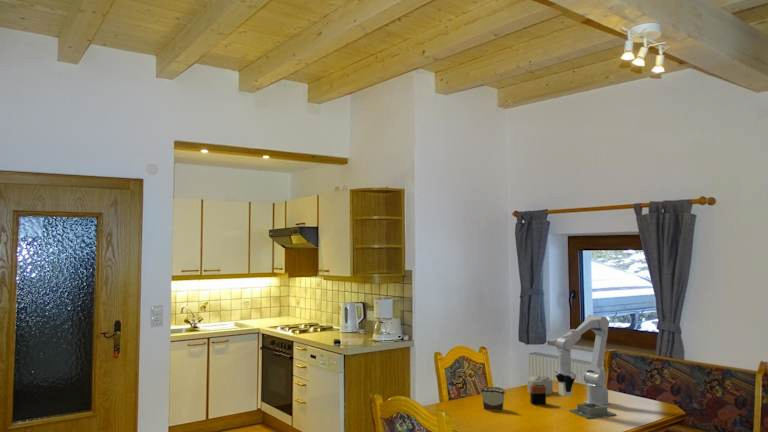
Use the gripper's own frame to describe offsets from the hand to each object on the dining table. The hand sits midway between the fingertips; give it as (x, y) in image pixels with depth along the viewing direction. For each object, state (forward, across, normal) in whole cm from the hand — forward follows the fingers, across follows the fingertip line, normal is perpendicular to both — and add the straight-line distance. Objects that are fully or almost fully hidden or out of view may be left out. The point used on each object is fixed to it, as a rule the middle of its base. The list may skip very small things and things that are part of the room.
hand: (565, 390), depth 284 cm
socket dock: (+9, +10, +7) cm, 15 cm away
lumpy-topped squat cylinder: (+9, -34, +8) cm, 36 cm away
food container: (+9, -13, -32) cm, 36 cm away
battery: (+9, -13, -7) cm, 18 cm away
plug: (+2, 0, 0) cm, 2 cm away
